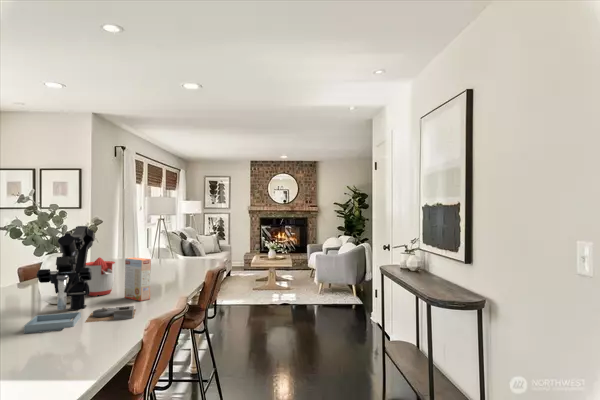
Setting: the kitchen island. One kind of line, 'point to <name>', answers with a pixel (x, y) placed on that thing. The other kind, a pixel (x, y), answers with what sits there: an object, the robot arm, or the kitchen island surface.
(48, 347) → the kitchen island surface
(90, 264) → the citrus juicer
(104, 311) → the plate
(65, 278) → the lock pin
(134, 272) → the cracker box
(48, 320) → the tray
